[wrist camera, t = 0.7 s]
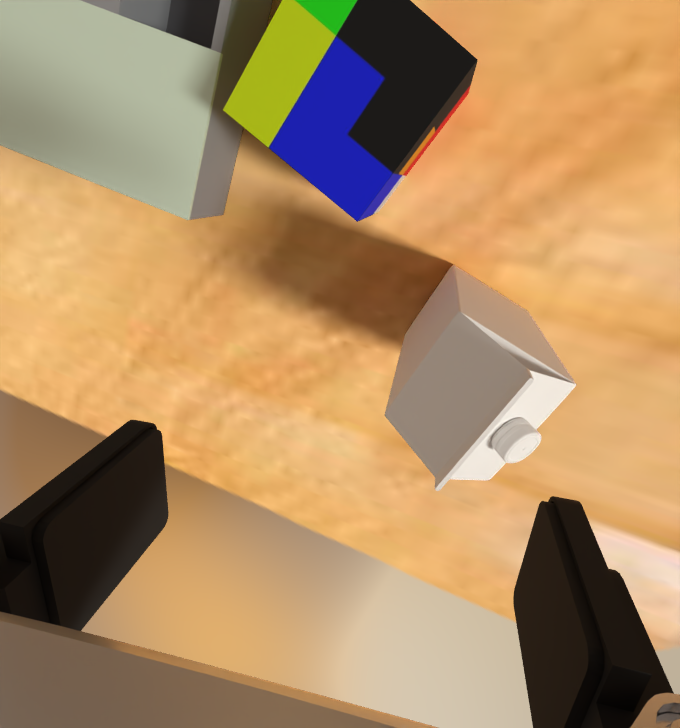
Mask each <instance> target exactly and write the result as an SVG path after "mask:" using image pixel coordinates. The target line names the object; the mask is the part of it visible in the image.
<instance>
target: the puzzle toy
mask: <svg viewBox="0 0 680 728" xmlns="http://www.w3.org/2000/svg"><path fill="white" fill-rule="evenodd" d="M476 64H477V59H476V58H475V57H474V56H473V55H471V54H470V53H469V52H468V51H467V50H466V49H465V48H464V47H462V46H461V45H460V44H459V43H458V42H457V41H456V40H454V39H453V38H452V37H451V36H450V35H449V34H448V33H447V32H445V31H444V30H443V29H442V28H441V27H440V26H439V25H437V24H436V23H435V22H434V21H433V20H432V19H431V18H430V17H428V16H427V15H426V14H425V13H424V12H423V11H422V10H420V9H419V8H418V7H417V6H416V5H415V4H414V3H412V2H411V1H410V0H282V1H281V3H280V5H279V7H278V9H277V11H276V13H275V14H274V16H273V18H272V20H271V22H270V24H269V25H268V27H267V29H266V31H265V33H264V35H263V37H262V38H261V40H260V42H259V44H258V46H257V48H256V50H255V51H254V53H253V55H252V57H251V59H250V61H249V63H248V64H247V66H246V68H245V70H244V72H243V74H242V75H241V77H240V79H239V81H238V83H237V85H236V87H235V88H234V90H233V92H232V94H231V96H230V98H229V100H228V101H227V103H226V105H225V107H224V109H223V111H225V112H226V113H227V114H228V115H230V116H231V117H232V118H233V119H234V120H236V121H237V122H238V123H239V124H240V125H242V126H243V127H244V128H245V129H246V130H248V131H249V132H250V133H251V134H252V135H254V136H255V137H256V138H257V139H258V140H260V141H261V142H262V143H263V144H264V145H266V146H267V147H268V148H269V149H270V150H272V151H273V152H274V153H275V154H276V155H278V156H279V157H280V158H281V159H283V160H284V161H285V162H286V163H287V164H289V165H290V166H291V167H292V168H293V169H295V170H296V171H297V172H298V173H299V174H301V175H302V176H303V177H304V178H305V179H307V180H308V181H309V182H310V183H311V184H313V185H314V186H315V187H316V188H317V189H319V190H320V191H321V192H322V193H323V194H325V195H326V196H327V197H328V198H329V199H331V200H332V201H333V202H334V203H336V204H337V205H338V206H339V207H340V208H342V209H343V210H344V211H345V212H346V213H348V214H349V215H350V216H351V217H352V218H354V219H355V220H356V221H357V222H358V221H360V220H362V219H364V218H367V217H369V216H371V215H373V214H375V213H378V212H379V211H380V209H381V208H382V207H383V206H384V204H385V203H386V202H387V200H388V199H389V198H390V196H391V195H392V194H393V192H394V191H395V190H396V188H397V187H398V186H399V184H400V183H401V182H402V180H403V179H404V178H405V176H406V175H407V174H408V173H409V171H410V170H411V169H412V167H413V166H414V165H415V163H416V162H417V161H418V159H419V158H420V157H421V155H422V154H423V153H424V151H425V150H426V149H427V147H428V146H429V145H430V144H431V142H432V141H433V140H434V138H435V137H436V136H437V134H438V133H439V132H440V130H441V129H442V128H443V126H444V125H445V124H446V122H447V121H448V120H449V118H450V117H451V116H452V114H453V113H454V112H455V111H456V109H457V108H458V107H459V105H460V104H461V103H462V101H463V100H464V99H465V97H466V96H467V95H468V93H469V89H470V85H471V82H472V78H473V75H474V71H475V67H476Z"/></svg>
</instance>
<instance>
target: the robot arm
mask: <svg viewBox="0 0 680 728" xmlns="http://www.w3.org/2000/svg"><path fill="white" fill-rule="evenodd" d="M167 519H168V503H167V491H166V479H165V466H164V454H163V441H162V433H161V431H159V430H157V427H156V426H155V424H153V423H148V422H143V421H138V420H130V421H128V422H127V423H126V424H124V425H123V426H122V427H120V428H119V429H118V430H116V431H115V432H114V433H112V434H111V435H110V436H109V437H107V438H106V439H105V440H103V441H102V442H101V443H99V444H98V445H97V446H96V447H94V448H93V449H92V450H91V451H89V452H88V453H86V454H85V455H84V456H82V457H81V458H80V459H78V460H77V461H76V462H75V463H73V464H72V465H71V466H69V467H68V468H67V469H65V470H64V471H63V472H61V473H60V474H59V475H58V476H56V477H55V478H54V479H52V480H51V481H50V482H48V483H47V484H46V485H45V486H43V487H42V488H41V489H39V490H38V491H37V492H35V493H34V494H33V495H32V496H30V497H29V498H27V499H26V500H25V501H24V502H23V503H21V504H20V505H18V506H17V507H16V508H15V509H13V510H12V511H10V512H9V513H8V514H7V515H5V516H4V517H3V518H1V519H0V728H437V727H434V726H431V725H427V724H423V723H420V722H415V721H413V720H409V719H405V718H401V717H398V716H394V715H390V714H387V713H383V712H380V711H376V710H372V709H369V708H365V707H362V706H358V705H354V704H351V703H347V702H343V701H340V700H336V699H332V698H329V697H325V696H322V695H318V694H314V693H311V692H307V691H303V690H300V689H296V688H292V687H288V686H285V685H281V684H277V683H274V682H270V681H266V680H262V679H259V678H255V677H252V676H247V675H244V674H240V673H237V672H233V671H229V670H225V669H222V668H218V667H214V666H211V665H206V664H203V663H199V662H195V661H192V660H188V659H184V658H181V657H177V656H173V655H169V654H166V653H162V652H158V651H154V650H150V649H146V648H142V647H139V646H135V645H131V644H127V643H124V642H120V641H116V640H112V639H108V638H104V637H101V636H97V635H93V634H89V633H85V632H82V631H81V630H82V628H83V627H84V626H85V625H86V624H87V622H88V621H89V620H90V619H91V617H92V616H93V615H94V613H95V612H96V611H97V610H98V609H99V607H100V606H101V605H102V604H103V603H104V601H105V600H106V599H107V598H108V596H109V595H110V594H111V593H112V591H113V590H114V589H115V588H116V587H117V585H118V584H119V583H120V582H121V580H122V579H123V578H124V577H125V575H126V574H127V573H128V572H129V570H130V569H131V568H132V567H133V565H134V564H135V563H136V562H137V560H138V559H139V558H140V557H141V555H142V554H143V553H144V552H145V551H146V549H147V548H148V547H149V546H150V544H151V543H152V542H153V541H154V539H155V538H156V537H157V536H158V534H159V533H160V532H161V531H162V529H163V528H164V527H165V525H166V522H167ZM514 610H515V616H516V623H517V629H518V635H519V641H520V647H521V653H522V660H523V666H524V673H525V679H526V685H527V691H528V698H529V704H530V710H531V716H532V722H533V728H680V695H678V694H674V693H673V691H672V688H671V686H670V684H669V682H668V679H667V677H666V675H665V673H664V671H663V668H662V666H661V664H660V661H659V659H658V657H657V655H656V652H655V650H654V648H653V646H652V643H651V641H650V639H649V637H648V634H647V632H646V630H645V627H644V625H643V623H642V621H641V618H640V616H639V614H638V612H637V609H636V607H635V605H634V603H633V600H632V598H631V596H630V594H629V591H628V589H627V587H626V585H625V582H624V580H623V578H622V577H621V575H620V573H618V572H617V571H616V570H612V569H608V567H607V565H606V562H605V560H604V557H603V555H602V553H601V550H600V548H599V545H598V543H597V541H596V538H595V536H594V533H593V531H592V529H591V526H590V524H589V521H588V519H587V517H586V514H585V512H584V509H583V507H582V505H581V503H580V502H579V501H575V500H570V499H565V498H559V497H554V496H552V497H551V498H550V499H549V501H548V502H545V501H541V503H540V504H539V507H538V511H537V514H536V517H535V521H534V524H533V528H532V531H531V534H530V538H529V541H528V545H527V548H526V552H525V555H524V558H523V562H522V565H521V569H520V572H519V575H518V579H517V582H516V586H515V590H514Z"/></svg>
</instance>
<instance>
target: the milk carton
mask: <svg viewBox="0 0 680 728" xmlns="http://www.w3.org/2000/svg"><path fill="white" fill-rule="evenodd" d="M575 386H576V384H575V382H574V380H573V378H572V377H571V375H570V374H569V372H568V371H567V369H566V368H565V366H564V365H563V363H562V362H561V360H560V359H559V357H558V356H557V354H556V353H555V351H554V350H553V348H552V347H551V345H550V344H549V342H548V341H547V339H546V338H545V336H544V334H543V333H542V331H541V330H540V328H539V327H538V325H537V324H536V322H535V321H534V319H533V318H532V316H531V315H530V313H529V312H528V311H527V310H525V309H524V308H522V307H521V306H519V305H517V304H516V303H514V302H513V301H511V300H509V299H508V298H506V297H505V296H503V295H501V294H500V293H498V292H497V291H495V290H493V289H492V288H490V287H489V286H487V285H485V284H484V283H482V282H481V281H479V280H477V279H476V278H474V277H473V276H471V275H469V274H468V273H466V272H465V271H463V270H462V269H460V268H458V267H457V266H455V265H452V266H451V267H450V269H449V270H448V272H447V273H446V275H445V276H444V277H443V279H442V280H441V282H440V283H439V285H438V286H437V288H436V289H435V291H434V292H433V294H432V295H431V297H430V298H429V300H428V301H427V302H426V304H425V305H424V307H423V308H422V310H421V311H420V313H419V314H418V316H417V317H416V319H415V320H414V322H413V323H412V325H411V326H410V327H409V329H408V331H407V332H406V334H405V336H404V340H403V344H402V348H401V352H400V356H399V360H398V364H397V368H396V372H395V376H394V380H393V384H392V388H391V392H390V396H389V399H388V403H387V407H386V411H385V416H386V418H387V419H388V420H389V421H390V423H391V424H392V425H393V426H394V427H395V429H396V430H397V431H398V432H399V434H400V435H401V436H402V437H403V438H404V440H405V441H406V442H407V443H408V445H409V446H410V447H411V448H412V449H413V451H414V452H415V453H416V454H417V456H418V457H419V458H420V459H421V460H422V462H423V463H424V464H425V465H426V467H427V468H428V469H429V470H430V471H431V473H432V474H433V475H434V476H435V490H437V491H439V490H440V489H441V488H442V487H443V486H444V485H445V484H446V482H447V481H448V480H449V479H459V480H490V479H491V478H492V477H493V476H494V475H495V474H496V473H497V472H498V471H499V470H500V469H501V468H502V467H503V465H504V464H505V463H506V462H507V463H516V462H519V461H521V460H523V459H524V458H526V457H527V456H529V455H530V454H531V453H532V452H533V451H534V450H535V449H536V448H537V446H538V445H539V443H540V441H541V435H540V433H539V432H538V431H537V430H536V429H537V428H538V427H539V426H540V425H541V424H542V423H543V422H544V421H545V420H546V419H547V417H548V416H549V415H550V414H551V413H552V412H553V411H554V410H555V409H556V408H557V407H558V406H559V404H560V403H561V402H562V401H563V400H564V399H565V398H566V397H567V395H568V394H569V393H570V392H571V391H572V390H573V389H574V387H575Z"/></svg>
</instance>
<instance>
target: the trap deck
mask: <svg viewBox="0 0 680 728" xmlns="http://www.w3.org/2000/svg"><path fill="white" fill-rule="evenodd" d="M271 5H272V0H0V145H1V146H3V147H6V148H8V149H11V150H13V151H16V152H18V153H21V154H23V155H26V156H28V157H31V158H34V159H36V160H39V161H41V162H44V163H46V164H49V165H51V166H54V167H56V168H59V169H61V170H64V171H66V172H69V173H71V174H74V175H76V176H79V177H81V178H84V179H86V180H89V181H91V182H94V183H96V184H99V185H101V186H104V187H106V188H109V189H111V190H114V191H116V192H119V193H121V194H124V195H126V196H129V197H131V198H134V199H136V200H139V201H141V202H144V203H146V204H149V205H151V206H154V207H156V208H159V209H161V210H164V211H166V212H169V213H171V214H174V215H176V216H179V217H181V218H184V219H186V220H191V219H198V218H205V217H212V216H219V215H223V214H224V209H225V205H226V201H227V196H228V192H229V187H230V183H231V179H232V174H233V170H234V166H235V161H236V157H237V153H238V148H239V144H240V140H241V135H242V131H243V126H242V125H240V124H239V123H238V122H237V121H236V120H234V119H233V118H232V117H231V116H230V115H228V114H227V113H226V112H225V111H223V109H224V107H225V105H226V103H227V101H228V100H229V98H230V96H231V94H232V92H233V90H234V88H235V87H236V85H237V83H238V81H239V79H240V77H241V75H242V74H243V72H244V70H245V68H246V66H247V64H248V63H249V61H250V59H251V57H252V55H253V53H254V51H255V50H256V48H257V46H258V44H259V42H260V40H261V38H262V37H263V35H264V33H265V31H266V26H267V22H268V18H269V13H270V9H271Z"/></svg>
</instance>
